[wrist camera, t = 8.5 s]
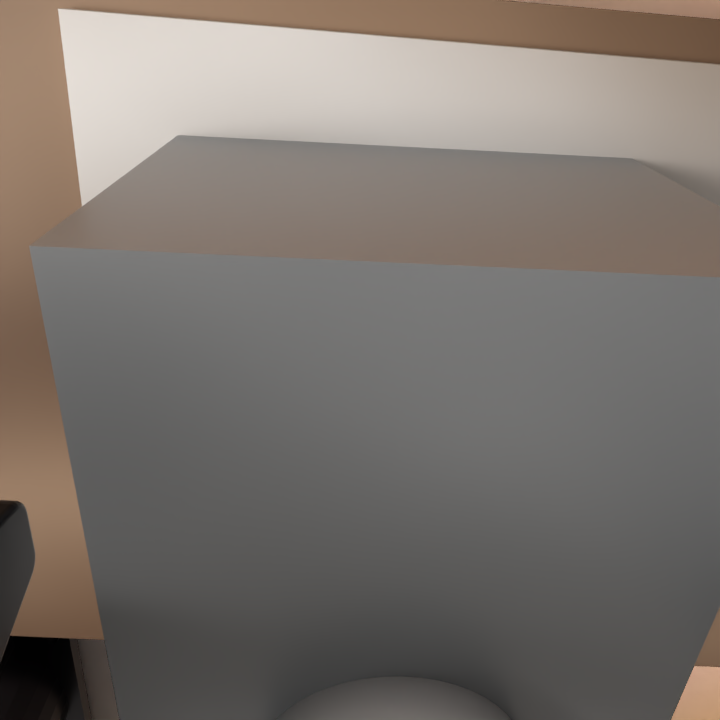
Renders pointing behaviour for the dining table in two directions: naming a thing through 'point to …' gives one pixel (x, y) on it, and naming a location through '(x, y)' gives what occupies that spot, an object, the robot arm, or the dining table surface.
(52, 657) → the robot arm
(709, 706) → the dining table surface
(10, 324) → the walnut stand
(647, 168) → the housing
